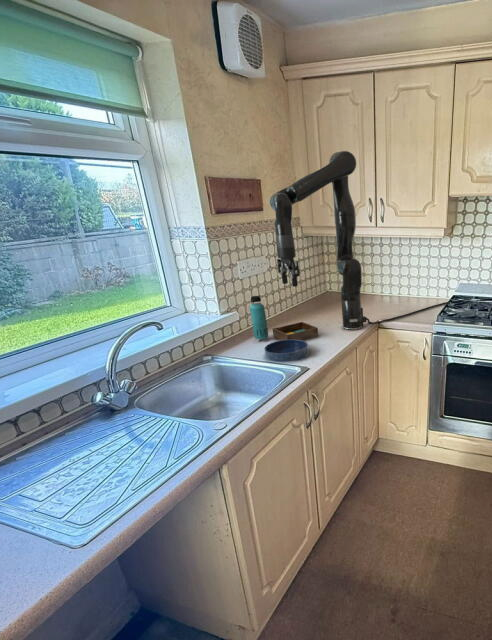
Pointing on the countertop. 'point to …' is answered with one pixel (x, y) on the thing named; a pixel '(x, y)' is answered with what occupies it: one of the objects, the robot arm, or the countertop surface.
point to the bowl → (286, 350)
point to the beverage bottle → (258, 319)
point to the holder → (302, 335)
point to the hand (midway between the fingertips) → (290, 284)
